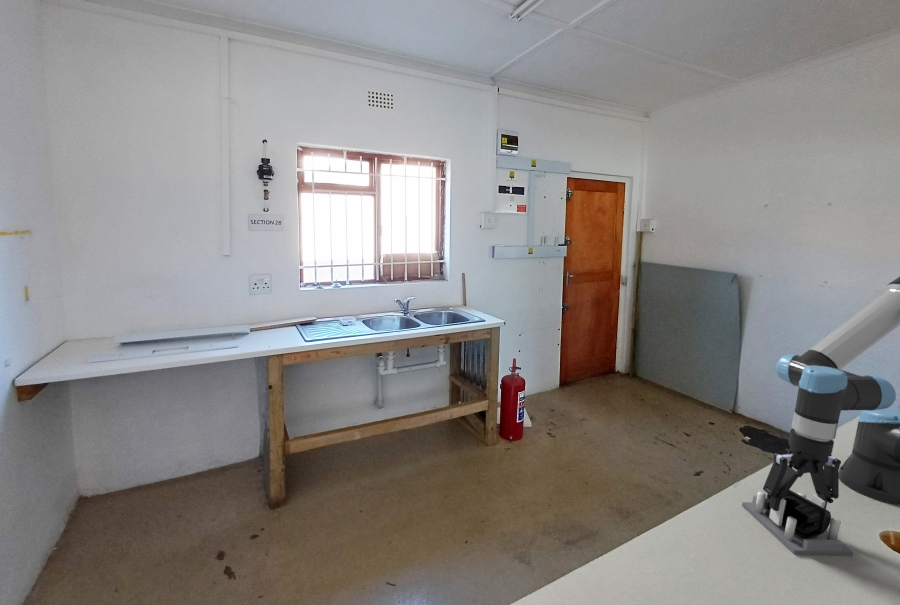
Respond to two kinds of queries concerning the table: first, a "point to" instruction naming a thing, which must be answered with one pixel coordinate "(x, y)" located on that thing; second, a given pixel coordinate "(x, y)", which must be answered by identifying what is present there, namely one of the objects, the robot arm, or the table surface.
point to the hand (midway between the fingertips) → (794, 522)
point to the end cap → (803, 515)
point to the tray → (791, 540)
